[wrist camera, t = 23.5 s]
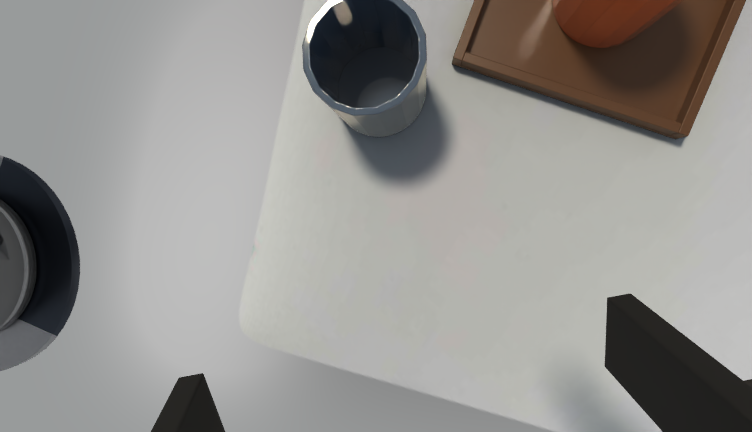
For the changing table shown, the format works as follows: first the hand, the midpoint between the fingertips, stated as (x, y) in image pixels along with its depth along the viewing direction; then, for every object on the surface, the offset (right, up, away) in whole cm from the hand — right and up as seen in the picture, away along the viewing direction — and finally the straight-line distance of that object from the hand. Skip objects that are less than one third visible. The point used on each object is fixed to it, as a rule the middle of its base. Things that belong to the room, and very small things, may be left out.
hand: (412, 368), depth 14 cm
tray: (+18, +23, +21) cm, 36 cm away
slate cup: (-1, +16, +24) cm, 29 cm away
